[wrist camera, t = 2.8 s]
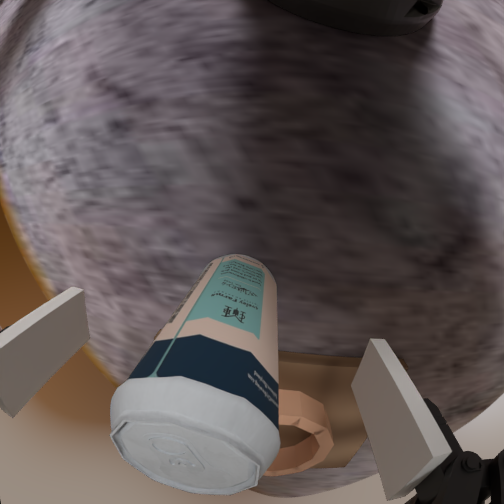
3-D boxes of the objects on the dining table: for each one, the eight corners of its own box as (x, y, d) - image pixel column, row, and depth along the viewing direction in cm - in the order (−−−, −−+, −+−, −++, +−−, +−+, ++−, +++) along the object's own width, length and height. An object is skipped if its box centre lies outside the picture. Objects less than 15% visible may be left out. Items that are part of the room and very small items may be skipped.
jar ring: (217, 380, 17) (210, 405, 15) (343, 393, 17) (350, 417, 14) (211, 446, 19) (206, 467, 17) (310, 456, 19) (311, 477, 17)
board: (160, 329, 18) (154, 337, 17) (402, 358, 17) (408, 367, 16) (168, 439, 21) (165, 448, 20) (343, 458, 21) (344, 467, 20)
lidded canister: (213, 329, 17) (152, 492, 6) (188, 262, 16) (64, 398, 5) (285, 314, 17) (295, 496, 5) (265, 242, 16) (248, 399, 4)
